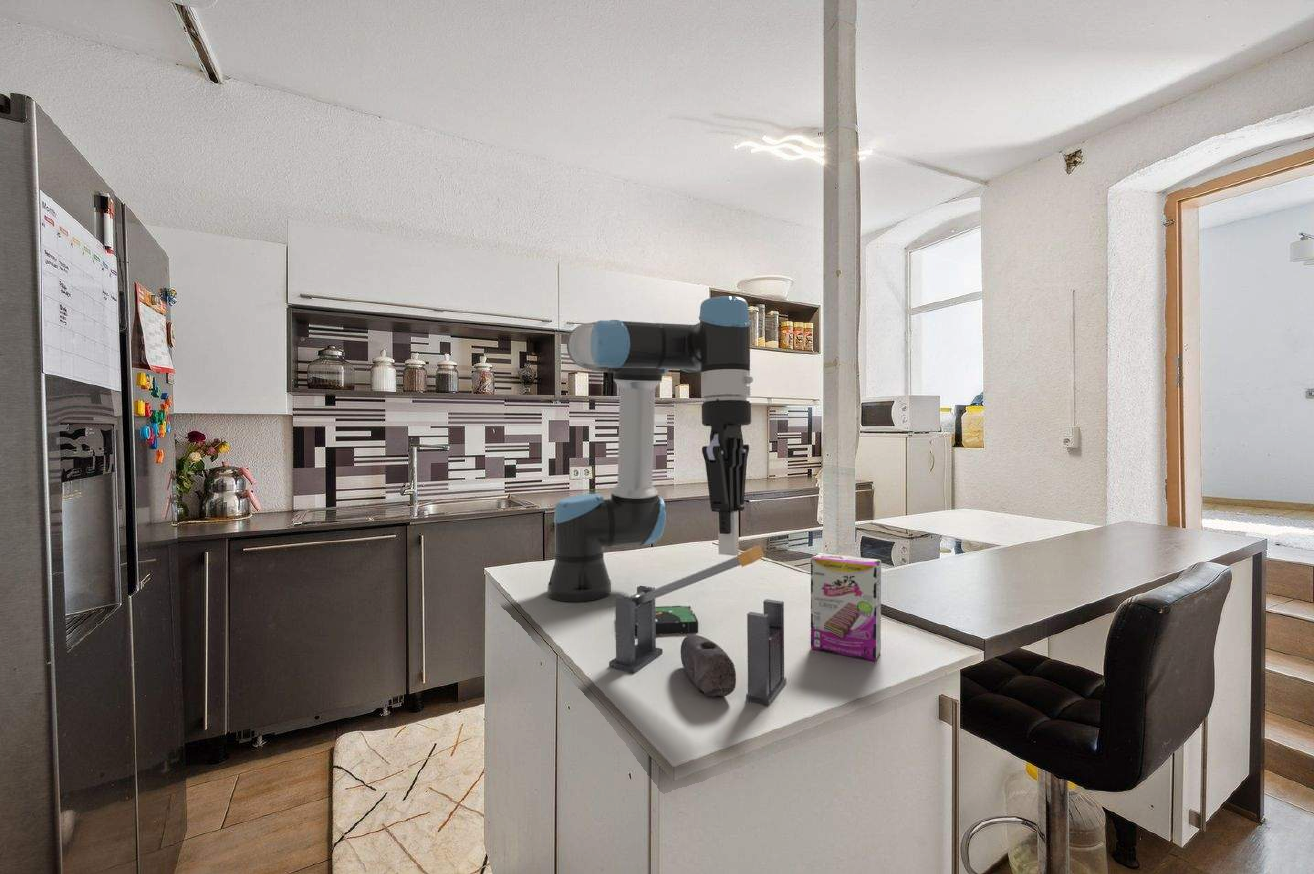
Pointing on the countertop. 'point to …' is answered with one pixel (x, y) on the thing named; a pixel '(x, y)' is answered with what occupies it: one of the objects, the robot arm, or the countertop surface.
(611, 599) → the countertop surface
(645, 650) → the bracket
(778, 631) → the catch block
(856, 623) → the candy bar box
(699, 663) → the perforated stone tool
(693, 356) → the robot arm
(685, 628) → the disk drive
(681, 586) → the grey long bar
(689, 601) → the countertop surface
